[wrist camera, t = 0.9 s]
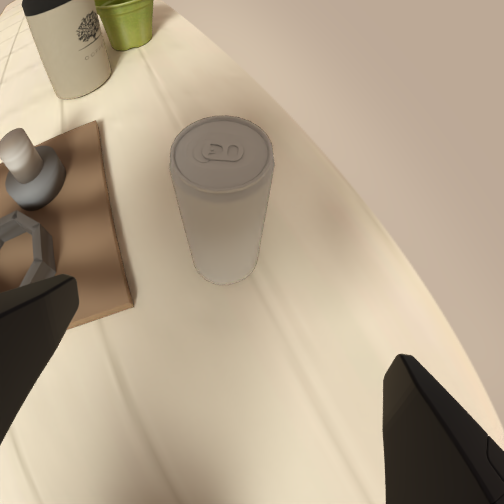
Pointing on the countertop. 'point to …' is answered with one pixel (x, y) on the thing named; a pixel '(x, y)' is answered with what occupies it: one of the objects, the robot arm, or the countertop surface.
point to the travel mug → (69, 44)
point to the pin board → (60, 220)
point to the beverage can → (222, 193)
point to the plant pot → (126, 21)
